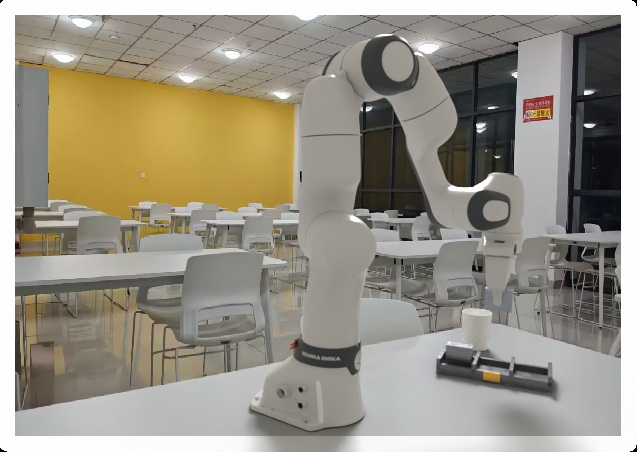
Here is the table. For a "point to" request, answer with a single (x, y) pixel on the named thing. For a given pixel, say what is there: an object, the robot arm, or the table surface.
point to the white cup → (476, 328)
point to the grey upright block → (506, 301)
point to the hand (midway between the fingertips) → (498, 302)
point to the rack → (492, 368)
